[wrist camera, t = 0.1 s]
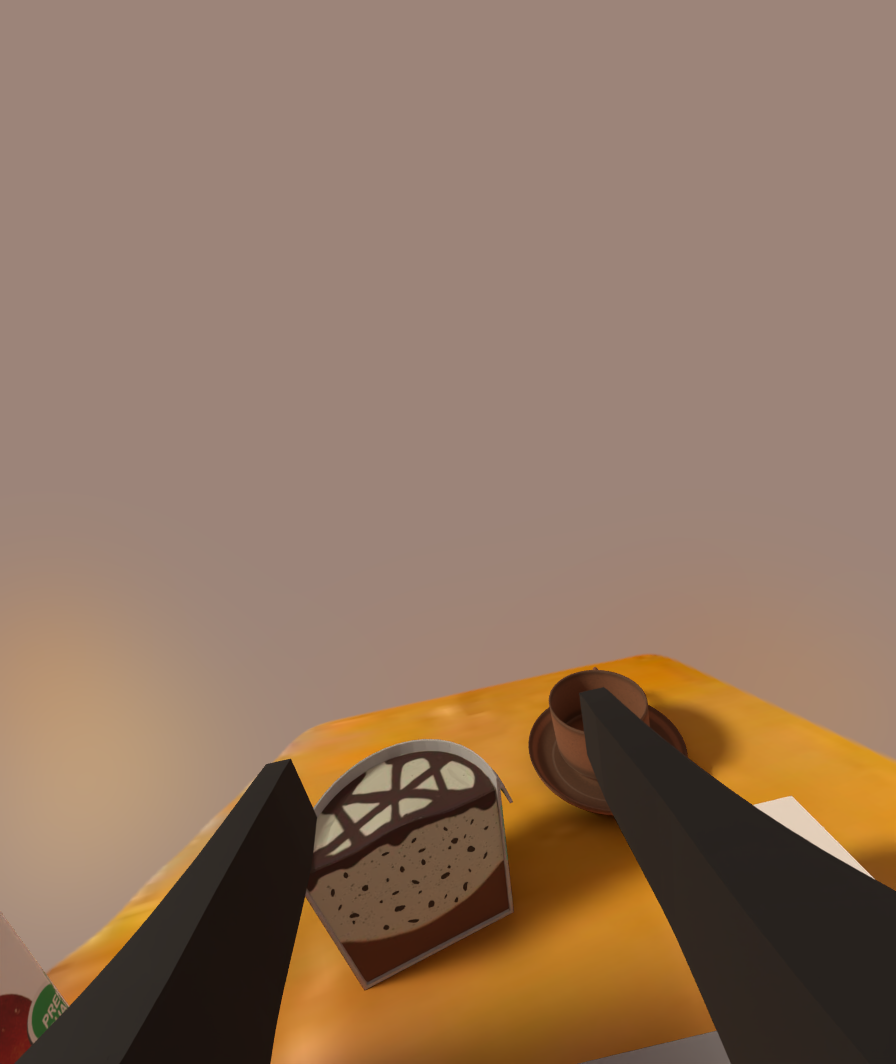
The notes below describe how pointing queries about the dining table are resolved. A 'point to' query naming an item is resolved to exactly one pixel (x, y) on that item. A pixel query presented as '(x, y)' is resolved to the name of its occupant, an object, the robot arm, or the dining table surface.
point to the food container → (409, 856)
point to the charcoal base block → (674, 1052)
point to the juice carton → (23, 997)
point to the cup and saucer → (563, 738)
